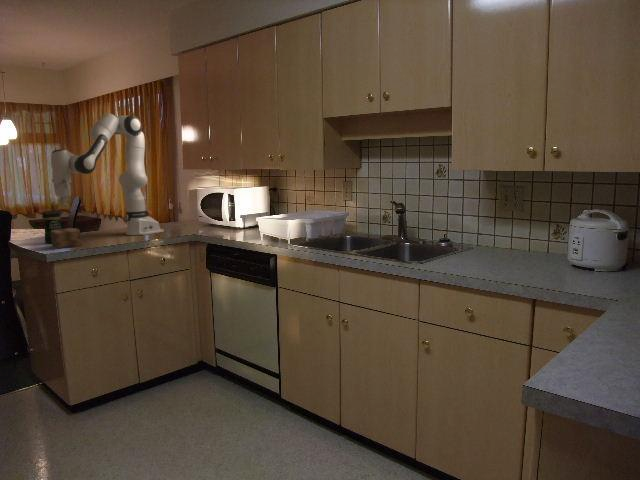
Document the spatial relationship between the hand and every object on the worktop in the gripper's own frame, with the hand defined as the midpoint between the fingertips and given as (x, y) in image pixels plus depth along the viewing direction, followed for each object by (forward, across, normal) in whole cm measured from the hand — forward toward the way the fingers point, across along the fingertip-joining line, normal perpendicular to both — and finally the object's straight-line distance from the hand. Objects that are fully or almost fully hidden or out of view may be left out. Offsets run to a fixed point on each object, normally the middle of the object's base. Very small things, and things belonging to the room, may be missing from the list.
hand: (64, 205), depth 274 cm
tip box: (+23, 0, 0) cm, 23 cm away
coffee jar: (+23, +21, +2) cm, 31 cm away
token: (+2, 0, 0) cm, 2 cm away
